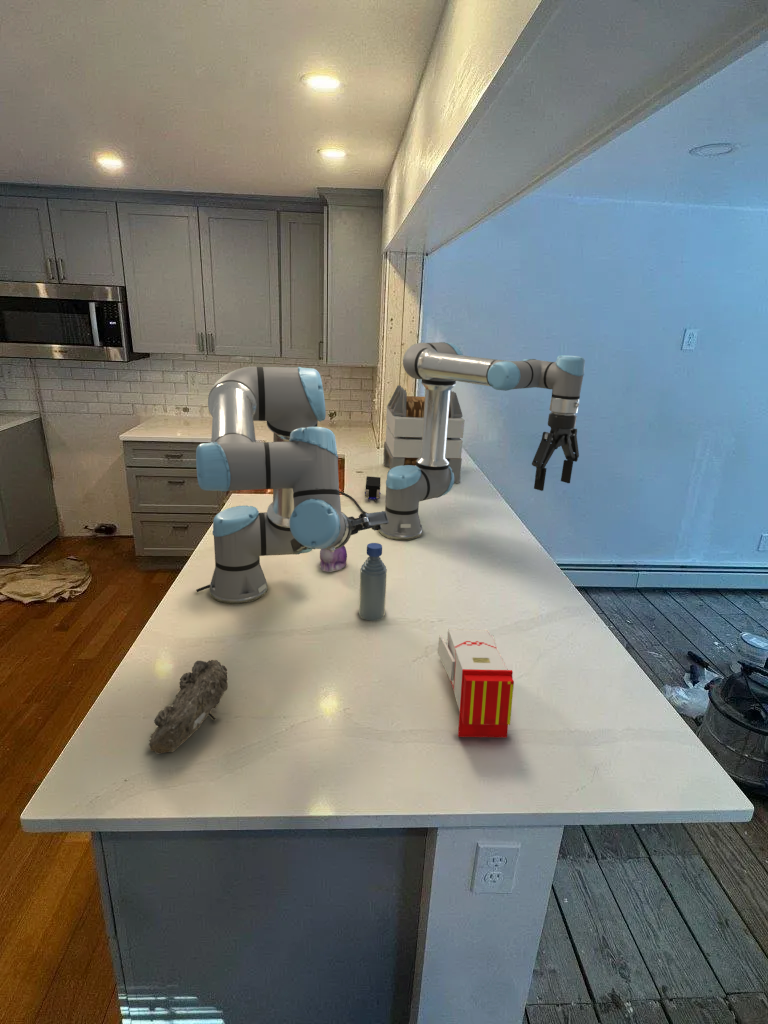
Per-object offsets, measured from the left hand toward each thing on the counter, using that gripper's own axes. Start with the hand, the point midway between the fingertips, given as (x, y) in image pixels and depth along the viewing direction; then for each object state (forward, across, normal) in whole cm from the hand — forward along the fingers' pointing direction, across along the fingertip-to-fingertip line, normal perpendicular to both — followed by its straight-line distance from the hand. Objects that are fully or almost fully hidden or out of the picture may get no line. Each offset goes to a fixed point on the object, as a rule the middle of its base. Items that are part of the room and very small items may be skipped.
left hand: (344, 533), depth 122 cm
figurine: (+50, -12, -5) cm, 52 cm away
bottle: (+27, -2, -20) cm, 33 cm away
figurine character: (+112, +2, +20) cm, 114 cm away
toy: (+1, +16, -40) cm, 42 cm away
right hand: (+46, +57, -1) cm, 73 cm away
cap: (+19, +4, -4) cm, 20 cm away
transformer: (+152, +26, +29) cm, 157 cm away
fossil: (-14, -36, -26) cm, 46 cm away
